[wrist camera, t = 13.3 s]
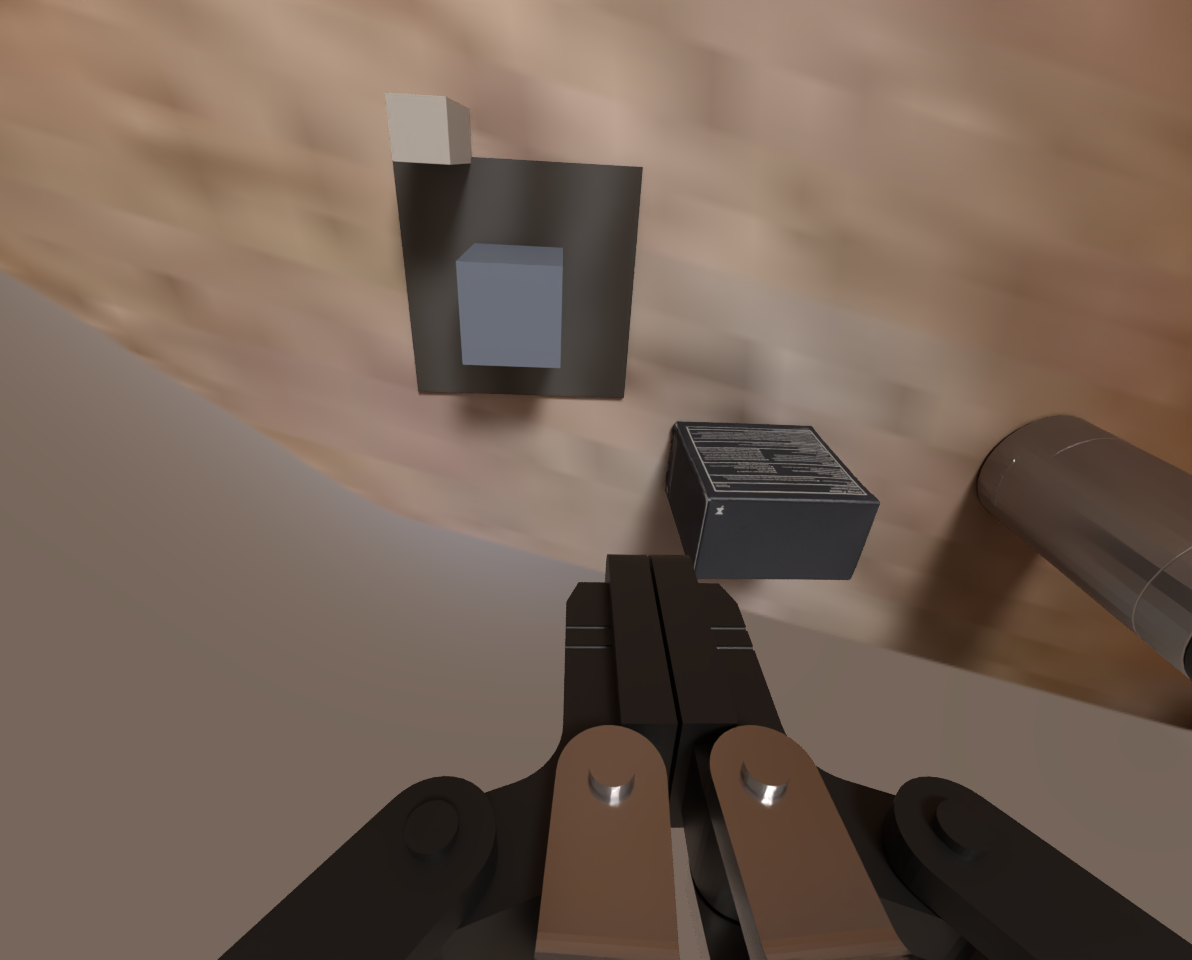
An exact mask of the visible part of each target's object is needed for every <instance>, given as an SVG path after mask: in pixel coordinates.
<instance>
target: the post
mask: <svg viewBox="0 0 1192 960" xmlns="http://www.w3.org/2000/svg"><path fill="white" fill-rule="evenodd" d="M385 97H386V106H387V115H388V124H389V133H390V142H391V151H392V160H393V161H397V162H414V163H431V164H448V165H452V164H467V163H471V157H472V154H471V134H470V114H469V108H467V107H465V106H463V105H461V104H460V103H458V102H456V101H454V100H452V99H450V98H448V97H446V96H431V95H416V94H401V93H386V92H385Z"/></svg>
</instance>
